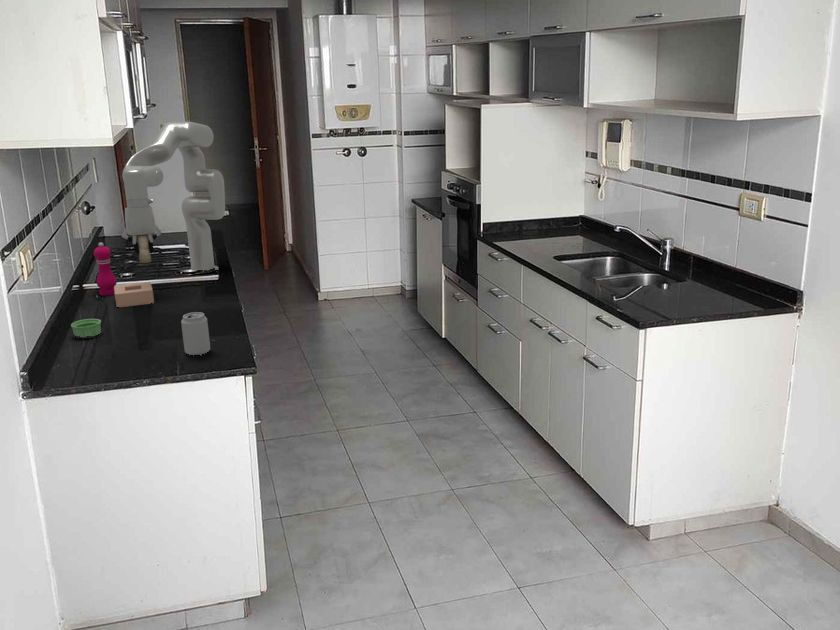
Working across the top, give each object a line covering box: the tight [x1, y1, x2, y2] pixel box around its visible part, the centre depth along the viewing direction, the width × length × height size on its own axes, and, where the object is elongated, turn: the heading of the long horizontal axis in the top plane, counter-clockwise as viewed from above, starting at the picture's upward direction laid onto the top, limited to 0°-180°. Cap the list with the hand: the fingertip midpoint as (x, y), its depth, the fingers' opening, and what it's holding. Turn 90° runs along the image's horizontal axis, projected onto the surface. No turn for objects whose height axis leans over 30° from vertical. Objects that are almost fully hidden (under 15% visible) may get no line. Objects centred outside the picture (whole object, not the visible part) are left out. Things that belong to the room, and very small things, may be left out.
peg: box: [136, 235, 152, 264], centre depth 293 cm, size 4×4×10 cm
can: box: [180, 311, 211, 357], centre depth 239 cm, size 8×8×12 cm
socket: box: [114, 281, 155, 308], centre depth 297 cm, size 13×13×5 cm
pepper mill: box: [93, 242, 118, 297], centre depth 306 cm, size 7×7×20 cm
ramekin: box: [70, 318, 102, 337], centre depth 259 cm, size 9×9×4 cm
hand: (144, 252), depth 294 cm, fingers closed on peg, 4 cm apart
